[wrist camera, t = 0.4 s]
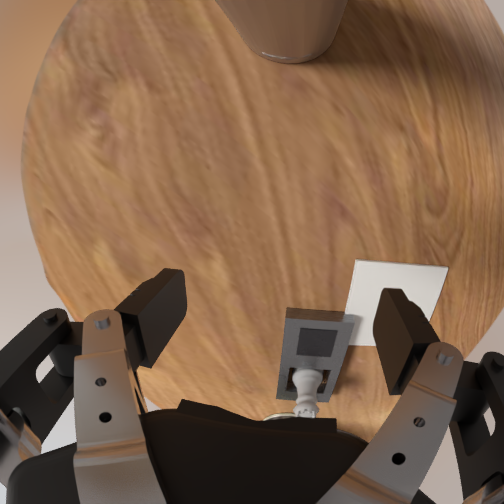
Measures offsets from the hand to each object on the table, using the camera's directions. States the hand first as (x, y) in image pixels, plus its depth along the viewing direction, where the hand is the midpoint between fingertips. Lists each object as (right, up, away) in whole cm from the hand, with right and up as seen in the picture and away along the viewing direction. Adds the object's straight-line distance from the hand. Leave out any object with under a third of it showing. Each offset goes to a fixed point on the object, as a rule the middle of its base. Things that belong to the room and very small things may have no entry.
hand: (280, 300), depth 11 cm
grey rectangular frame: (+7, -12, +24) cm, 28 cm away
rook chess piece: (+7, -15, +26) cm, 30 cm away
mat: (+16, -5, +19) cm, 25 cm away
